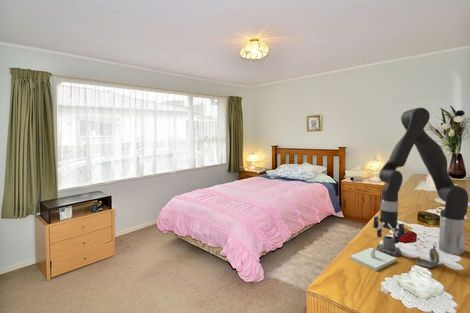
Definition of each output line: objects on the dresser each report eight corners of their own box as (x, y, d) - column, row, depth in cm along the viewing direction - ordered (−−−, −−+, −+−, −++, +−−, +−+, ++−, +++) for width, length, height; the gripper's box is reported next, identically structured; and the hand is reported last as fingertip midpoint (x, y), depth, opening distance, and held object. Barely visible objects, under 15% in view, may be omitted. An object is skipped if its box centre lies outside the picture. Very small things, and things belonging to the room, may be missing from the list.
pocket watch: (412, 262, 119) (413, 242, 118) (424, 259, 122) (425, 238, 121) (431, 271, 111) (432, 249, 110) (444, 267, 114) (445, 245, 113)
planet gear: (405, 252, 129) (405, 239, 128) (393, 258, 124) (393, 244, 123) (384, 245, 138) (384, 232, 137) (372, 250, 133) (372, 236, 132)
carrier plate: (396, 261, 121) (396, 248, 120) (375, 271, 113) (376, 257, 112) (370, 250, 132) (370, 239, 131) (349, 258, 124) (349, 247, 124)
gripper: (408, 211, 125) (406, 243, 126) (379, 204, 137) (378, 233, 139) (399, 213, 121) (398, 247, 123) (371, 206, 133) (369, 236, 135)
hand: (387, 240), depth 131 cm, fingers open, 8 cm apart
